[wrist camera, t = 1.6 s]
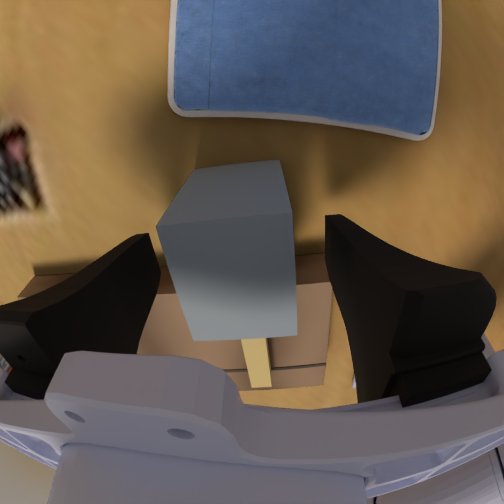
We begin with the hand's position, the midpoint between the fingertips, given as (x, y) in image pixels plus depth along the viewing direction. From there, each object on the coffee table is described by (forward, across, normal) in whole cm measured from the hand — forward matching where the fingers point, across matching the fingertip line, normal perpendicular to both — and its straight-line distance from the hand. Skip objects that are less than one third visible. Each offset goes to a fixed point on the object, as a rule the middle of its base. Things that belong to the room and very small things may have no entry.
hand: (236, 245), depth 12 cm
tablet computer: (+4, -5, -14) cm, 15 cm away
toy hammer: (+3, 0, +4) cm, 5 cm away
